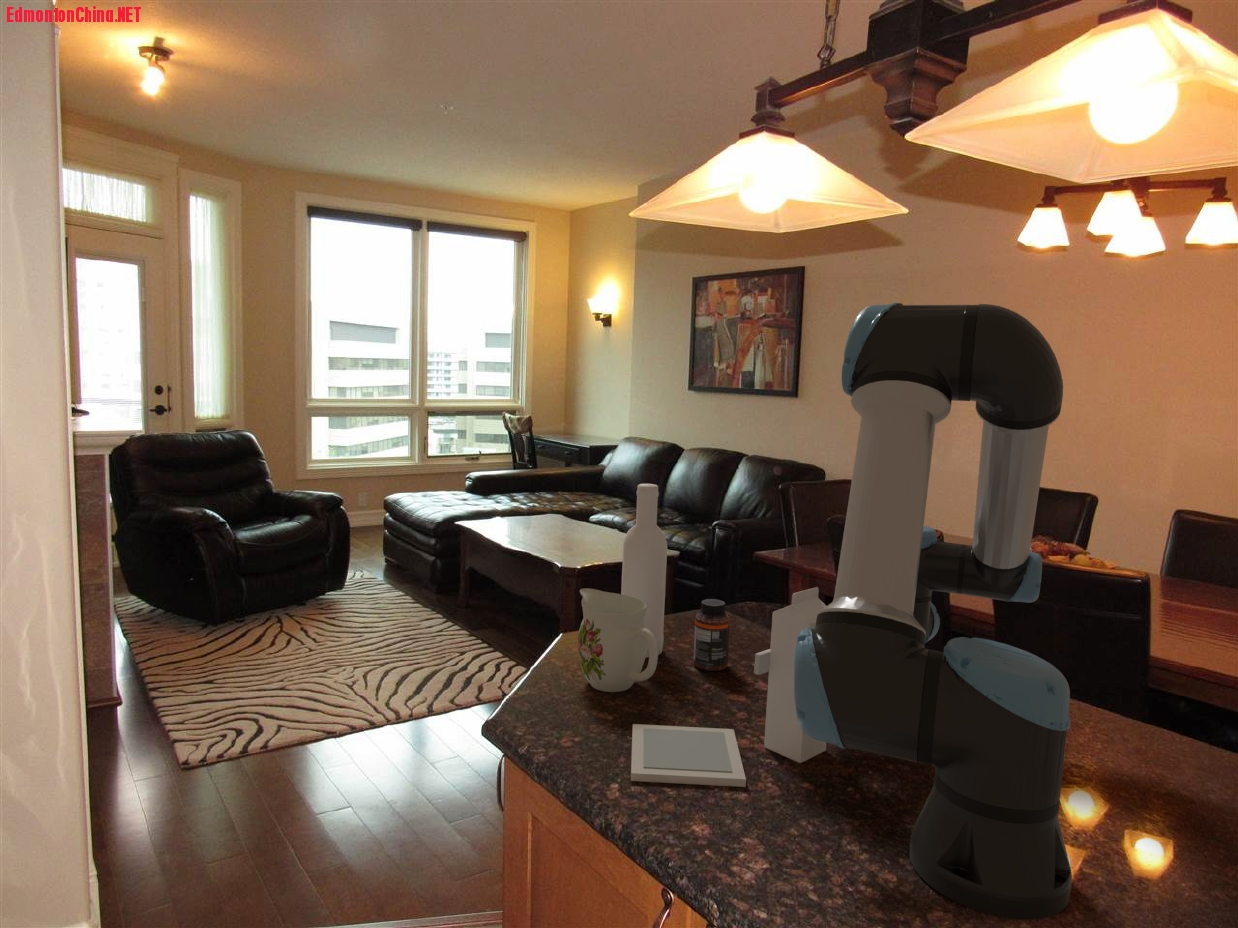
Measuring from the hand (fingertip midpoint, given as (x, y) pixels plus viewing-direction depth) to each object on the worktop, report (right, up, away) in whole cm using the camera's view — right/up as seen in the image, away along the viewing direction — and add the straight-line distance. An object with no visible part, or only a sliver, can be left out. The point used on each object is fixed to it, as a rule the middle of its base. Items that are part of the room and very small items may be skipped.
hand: (777, 671), depth 106 cm
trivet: (-12, -11, +1) cm, 17 cm away
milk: (+3, -12, +5) cm, 13 cm away
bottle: (-17, -7, +41) cm, 45 cm away
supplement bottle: (-5, -8, +35) cm, 36 cm away
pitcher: (-21, -9, +24) cm, 33 cm away
